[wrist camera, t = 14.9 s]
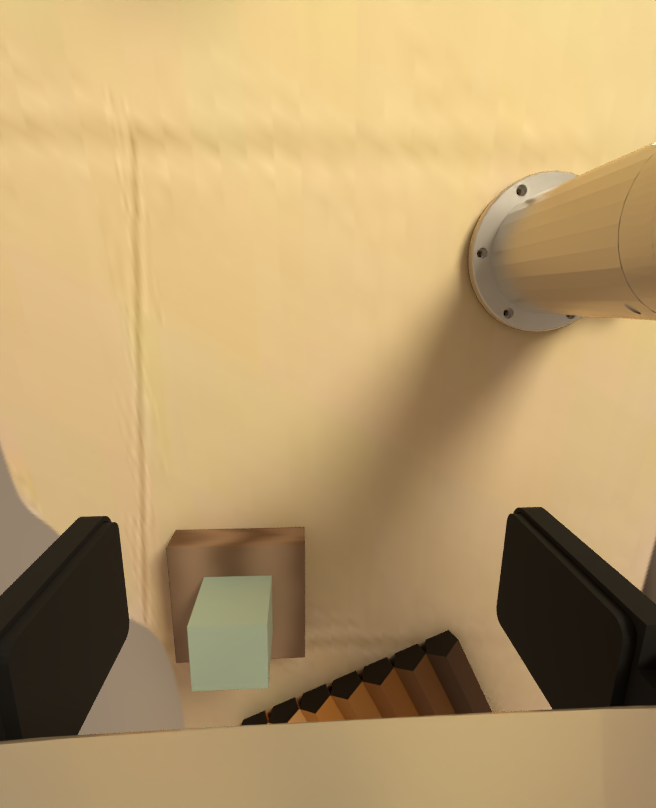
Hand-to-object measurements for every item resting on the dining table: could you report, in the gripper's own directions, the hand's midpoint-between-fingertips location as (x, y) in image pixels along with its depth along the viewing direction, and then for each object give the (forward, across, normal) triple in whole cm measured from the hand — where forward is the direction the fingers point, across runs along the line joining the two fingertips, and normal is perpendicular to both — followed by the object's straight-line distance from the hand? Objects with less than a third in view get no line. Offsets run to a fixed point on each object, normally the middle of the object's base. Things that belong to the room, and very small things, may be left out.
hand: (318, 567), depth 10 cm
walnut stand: (+28, +6, +21) cm, 36 cm away
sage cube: (+25, +6, +21) cm, 33 cm away
